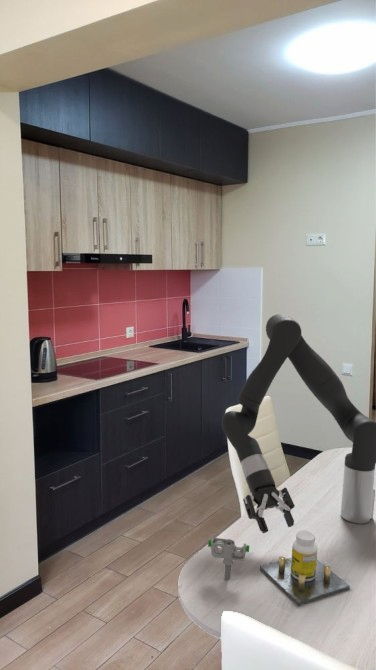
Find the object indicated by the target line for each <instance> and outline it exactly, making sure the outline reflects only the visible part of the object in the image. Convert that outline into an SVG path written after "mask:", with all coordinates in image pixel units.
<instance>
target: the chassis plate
mask: <svg viewBox="0 0 376 670" xmlns="http://www.w3.org/2000/svg"><path fill="white" fill-rule="evenodd" d="M291 562H292V557H289V558H286V557H285V556H279V559H278V560H277V561H274V562H271V563H267V564H263V565H260V566H259V570H260V571H261V572H262V573H263V574H264V575H265V577H267V578H268V579H269V580H270V581H272V582H273V583H274V585H276V587H277V588H279V589H280V590H281V592H282V593H284V594H285V595H286V596H287V597H288V598H289V599H290V600H292V602H293V603H294V604H295V605H296V606H298V607H300V606H304V605H307V604H309V603H313V602H315V601H319V600H321V599H324V598H328V597H330V596H334V595H336V594H339V593H343V592H345V591H347V590H350V589H351V586H350V584H349V583H347V582H346V581H345V580H344V579H343V578H341V577H340V576H339V575H337V574H336V573H334V572H333V571H332V569H331V568H332V567H331V566H329V565H325V564H323V562H321V561H319V560H318V559H317V562H316V574H315V578H314V579H313V580H311V581H305V577H306V575H305V574H303V573H300V574H299V580H297V579H296V578H294V577H293V576H292V574H291Z"/></svg>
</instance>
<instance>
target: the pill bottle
mask: <svg viewBox="0 0 376 670" xmlns="http://www.w3.org/2000/svg"><path fill="white" fill-rule="evenodd" d="M315 541H316V536H315V533H313V532H311V531H309V530H299V531H297V532H296V534H295V540H293V543H292V547H291V548H292V549H291V558H292V562H291V574H292V576H293V577H294V578H296V579H297V580H299V574H300V573H303V574H305V575H306V577H305V581H311V580H313V579H314V578H315V574H316V562H317V560H318V545H317V543H315Z"/></svg>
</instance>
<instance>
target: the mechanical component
mask: <svg viewBox="0 0 376 670" xmlns="http://www.w3.org/2000/svg"><path fill="white" fill-rule="evenodd" d="M207 546H208V547H210V550H211V551H210V552H211V556H212V557H214V558H218V559H222V563H223V564H224V573H223V574H224V577H223V578H224V581H227V582H229V581H230V580H231V575H232V574H231V570H232V569H231V568H232V565H233V564H234V561H239V562H243V561H245V559H246V554H247V553H250V545H248V544H247V543H243V546H241V547H240V546H237V545H236V543H235V540H233V539H230V538H229V539H226V538H221V537H219V538H218V537H212V539H211V540H210V539H209V540H208V543H207Z"/></svg>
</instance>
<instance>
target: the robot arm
mask: <svg viewBox="0 0 376 670" xmlns="http://www.w3.org/2000/svg"><path fill="white" fill-rule="evenodd" d="M265 332H266V336H267V338H268V339H269V342H268V346H267V348H266V350H265V353H264V354H263V357H262V358H261V360H260V362H259V363H258V364H257V365H256V366H255V368H254V369H253V370H252V371H251V373H250V374H249V375H248V377H247V378H246V380H245V382H244V384H243V386H242V389H241V391H240V393H239V395H238V397H237V400H238V403H239V405H240V406H241V410H240V411H236V410H230V411H229V410H228V411H226V412H225V413H224V415H222V418H221V428H222V431H223V433H224V435H225V436H226V439H227V440H228V441H229V443H230V444H231V446H232V447H233V448H234V450H235V451H236V454H237V457H238V460H239V463H240V465H241V470H242V474H243V477H244V479H245V481H246V484H247V486H248V490H249V492H250V493H251V495H250V494H247V495H246V496H245V497H243V498H242V499H243V504H244V506H245V510H246V514H247V517H248V519H249V520H254V521H255V520H256V522H257V523H256V524H257V525H258V528H259V530H260V532H262V533H263V534H266V533H267V532H268V531H269V527H268V525H267V523H266V520H265V517H263V515H264V511H266V510H268V509H273V508H274V509H276V510H278V511H280V512H281V513H283V518H284V520H285V523H286V525H287V527H288V528H291V527H293V526H294V525H295V520H294V518H293V517H294V516H293V515H292V513H291V511H292V510H293V509H294V508H295V504H294V501H293V499H292V497H291V495H290V492H289V490H288V488H287V487H283V488H282V489H280V490H279V489H277V487H276V482H275V479H274V477H273V475H272V472H271V470H270V467H269V464H268V462H267V460H266V459H265V456H264V454H263V452H262V449H261V447H260V444H259V442H258V441H257V439H255V438H254V437H252V436H250V435H249V434H251V433H252V432H253V430H254V429H255V427H256V424H257V420H258V415H259V413H260V412H259V410H260V406H261V405H262V402H263V401H264V398H265V397H266V394H267V392H268V390H269V388H270V387H271V385H272V383H273V381H274V379H275V377H276V375H277V374H278V372H279V371H280V369H281V367H282V366H283V365H284V363H285V362H286V361H287V359H288V360H289V361H290V363H291V364H292V366H293V367H294V369H295V370H296V372H297V373H298V375H299V377H300V378H301V380H302V381H303V383H304V384H305V385H306V387H307V388H308V389H309V391H310V392H311V393H312V394H313V396H314V397H315V398H316V399H317V401H319V402H320V403H321V405H322V406H323V407H324V408H325V409H326V410H327V411H328V412H329V413H330V414H331V415H332V416H333V418H334V420H335V421H336V423H337V424H338V427H339V428H340V429H341V432H343V434H344V436H345V437H346V439H348V440H349V441H350V442H352V446H351V447H352V449H351V452H349V453H347V454H346V455H345V457H344V467H343V479H342V494H341V506H340V516H341V517H342V518H343V519H344V520H345V521H348V522H349V523H350V522H351V523H353V524H358V525H359V524H360V525H362V524H367V523H369V522H371V520H372V519H374V510H375V509H374V508H375V499H376V498H375V497H376V490H375V489H374V484H375V473H376V472H375V470H376V421H375V420H374V419H372V418H370V417H368V416H366V415H365V414H363V413H362V412H361V411H360V410H359V409H358V407H356V406H355V405H354V404H353V402H352V401H351V400H350V398H349V397H348V394H347V392H346V388H345V386H344V384H343V382H342V381H341V379H340V377H339V376H338V374H336V372H335V371H334V370H333V368H332V367H331V366H330V365H329V363H327V362H326V360H325V359H323V357H321V356H320V355H319V354H318V352H316V351H315V350H314V349H313V348H312V347H311V346H310V344H308V342H307V341H306V340H305V339H304V337H303V335H302V328H301V326H300V324H299V323H298V322H297V321H296V320H295V319H293V318H292V317H291V316H290V315H287V314H284V313H277V314H275V315H272V316H271V317H269V318H268V320H267V321H266V325H265ZM254 503H255V504H256V508H255V506H254ZM371 518H372V519H371ZM370 519H371V520H370Z"/></svg>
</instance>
